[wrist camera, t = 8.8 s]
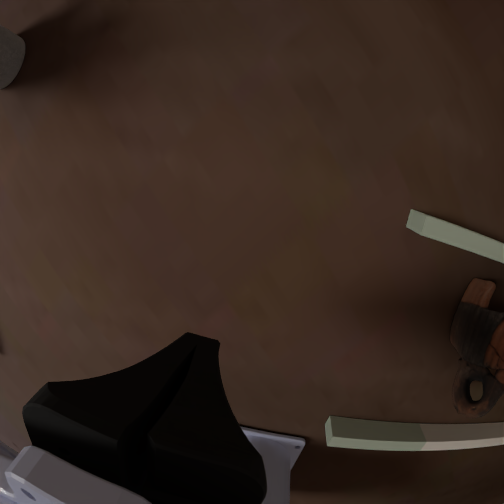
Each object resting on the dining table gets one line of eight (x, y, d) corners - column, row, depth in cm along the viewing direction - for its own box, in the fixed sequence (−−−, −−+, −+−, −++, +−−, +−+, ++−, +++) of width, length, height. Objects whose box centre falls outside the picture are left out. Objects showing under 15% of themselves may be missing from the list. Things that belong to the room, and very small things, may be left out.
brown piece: (483, 235, 19) (576, 269, 12) (501, 282, 24) (568, 311, 17) (405, 383, 19) (491, 444, 12) (442, 394, 24) (504, 436, 17)
